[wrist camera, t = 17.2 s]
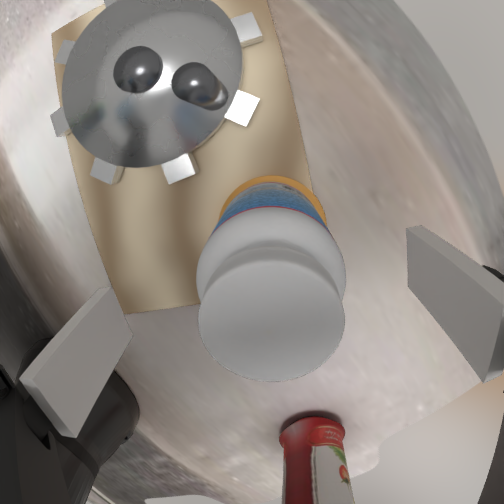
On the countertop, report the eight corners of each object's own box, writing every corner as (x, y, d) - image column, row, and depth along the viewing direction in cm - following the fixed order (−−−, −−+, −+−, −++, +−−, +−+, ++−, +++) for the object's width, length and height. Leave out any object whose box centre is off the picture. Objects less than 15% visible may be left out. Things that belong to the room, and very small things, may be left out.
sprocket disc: (37, 145, 19) (-21, 155, 13) (113, -30, 14) (71, -64, 8) (205, 220, 20) (177, 256, 14) (304, 17, 15) (317, -28, 9)
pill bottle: (205, 211, 20) (135, 293, 9) (289, 162, 18) (315, 193, 8) (253, 287, 21) (238, 415, 11) (333, 245, 20) (390, 353, 10)
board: (129, 307, 25) (123, 314, 24) (59, 36, 17) (51, 33, 16) (324, 274, 23) (326, 282, 21) (252, -37, 15) (251, -45, 14)
